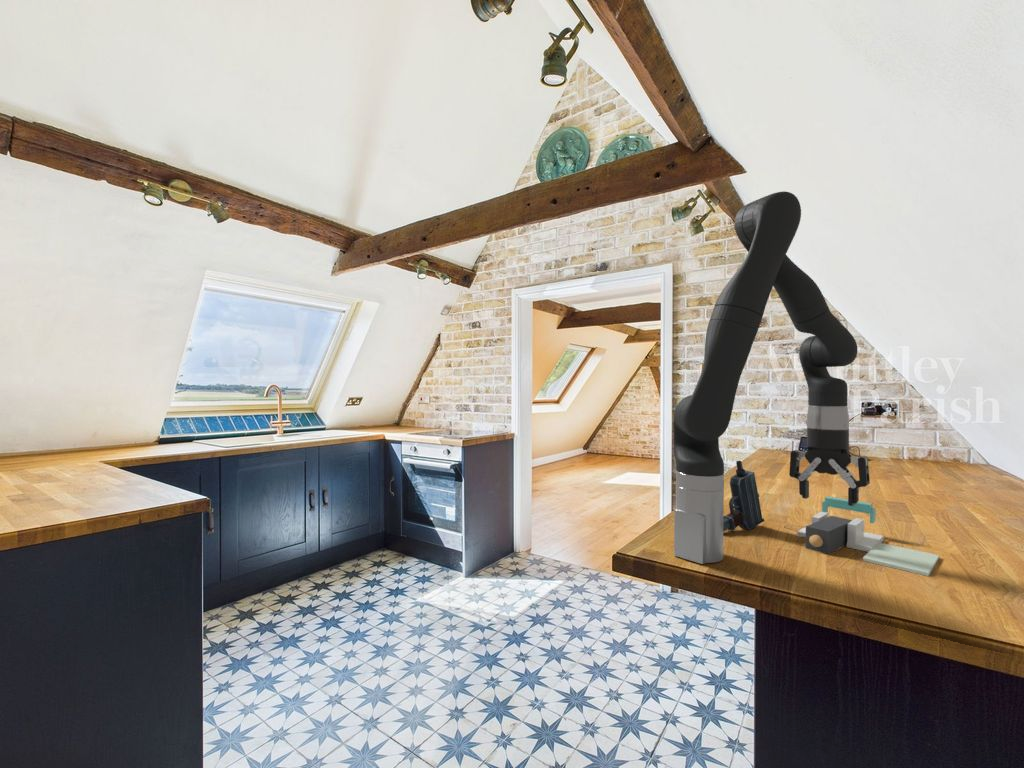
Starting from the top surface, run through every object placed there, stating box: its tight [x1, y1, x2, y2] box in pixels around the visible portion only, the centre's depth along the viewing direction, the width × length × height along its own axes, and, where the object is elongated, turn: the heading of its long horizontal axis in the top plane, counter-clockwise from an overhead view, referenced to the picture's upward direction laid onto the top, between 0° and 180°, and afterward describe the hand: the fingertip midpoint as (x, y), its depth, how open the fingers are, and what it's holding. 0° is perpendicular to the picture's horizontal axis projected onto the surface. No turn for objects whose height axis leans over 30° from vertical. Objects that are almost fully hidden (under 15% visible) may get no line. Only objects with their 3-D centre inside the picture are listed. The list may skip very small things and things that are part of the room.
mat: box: [862, 542, 940, 577], centre depth 95 cm, size 14×10×1 cm
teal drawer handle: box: [821, 495, 877, 524], centre depth 112 cm, size 2×10×4 cm, turn 41°
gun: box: [723, 460, 765, 533], centre depth 113 cm, size 3×17×15 cm
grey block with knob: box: [805, 515, 853, 555], centre depth 103 cm, size 16×4×5 cm, turn 126°
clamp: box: [796, 511, 884, 553], centre depth 108 cm, size 12×14×5 cm
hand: (827, 501), depth 100 cm, fingers open, 8 cm apart
